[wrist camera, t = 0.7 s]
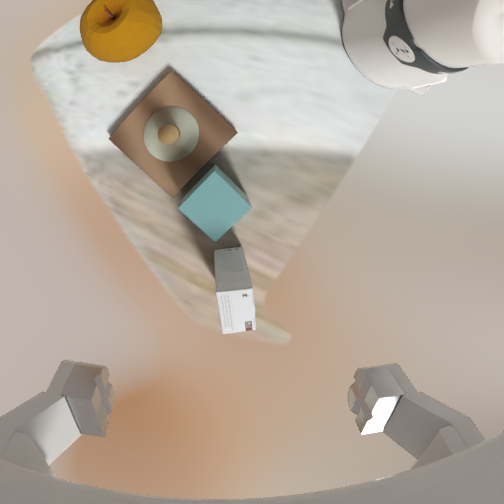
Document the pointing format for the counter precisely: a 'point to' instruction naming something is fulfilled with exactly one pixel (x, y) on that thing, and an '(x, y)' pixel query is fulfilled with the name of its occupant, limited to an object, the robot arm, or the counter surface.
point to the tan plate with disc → (172, 134)
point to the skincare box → (234, 291)
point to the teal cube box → (215, 203)
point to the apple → (120, 28)
